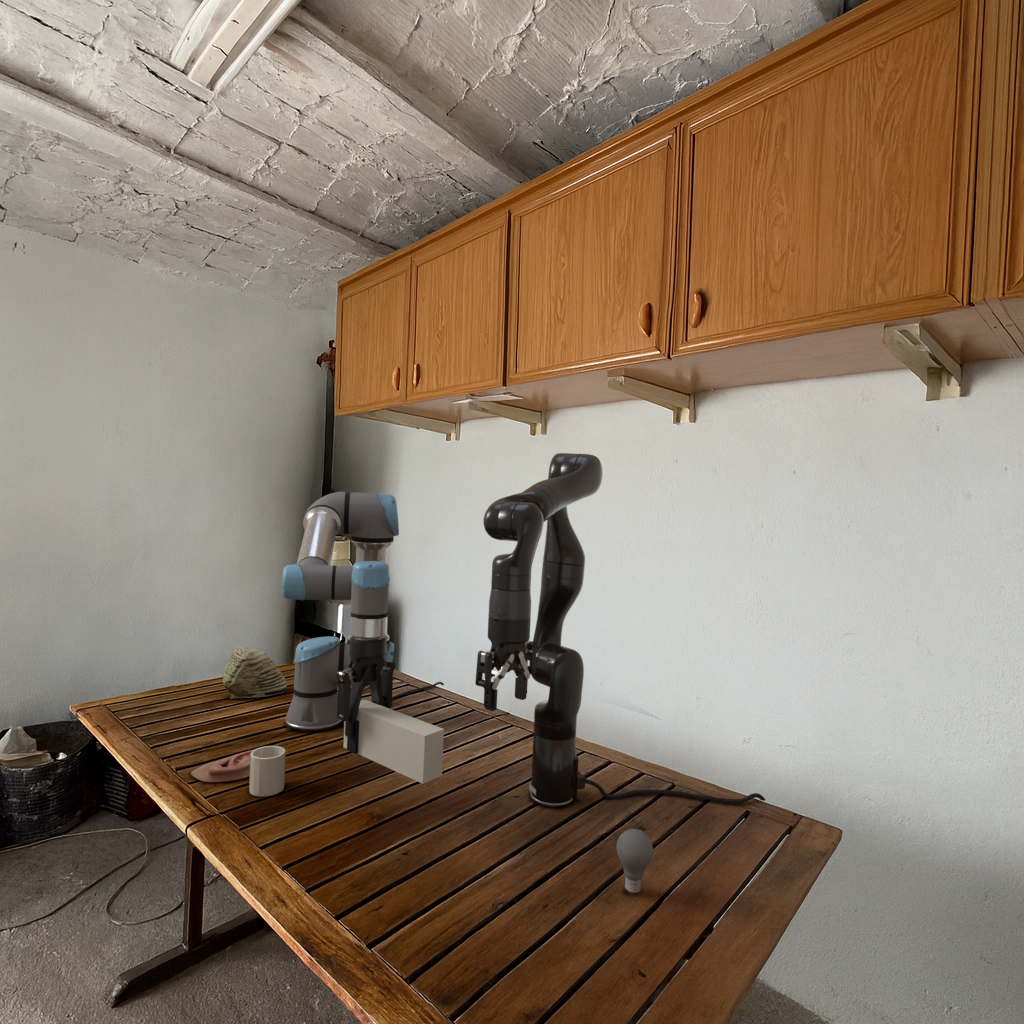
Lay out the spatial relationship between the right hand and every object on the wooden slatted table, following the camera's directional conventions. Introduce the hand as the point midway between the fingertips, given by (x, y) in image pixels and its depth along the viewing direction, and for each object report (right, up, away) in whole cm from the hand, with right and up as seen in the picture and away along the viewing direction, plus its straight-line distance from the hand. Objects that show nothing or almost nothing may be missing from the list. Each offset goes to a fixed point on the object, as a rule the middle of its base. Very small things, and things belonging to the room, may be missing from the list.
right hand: (505, 704), depth 113 cm
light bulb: (+21, -29, -7) cm, 37 cm away
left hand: (-30, -15, +19) cm, 38 cm away
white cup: (-52, -25, +23) cm, 62 cm away
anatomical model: (-64, -25, +30) cm, 75 cm away
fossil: (-80, -23, +85) cm, 119 cm away
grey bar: (-23, -15, +14) cm, 31 cm away
